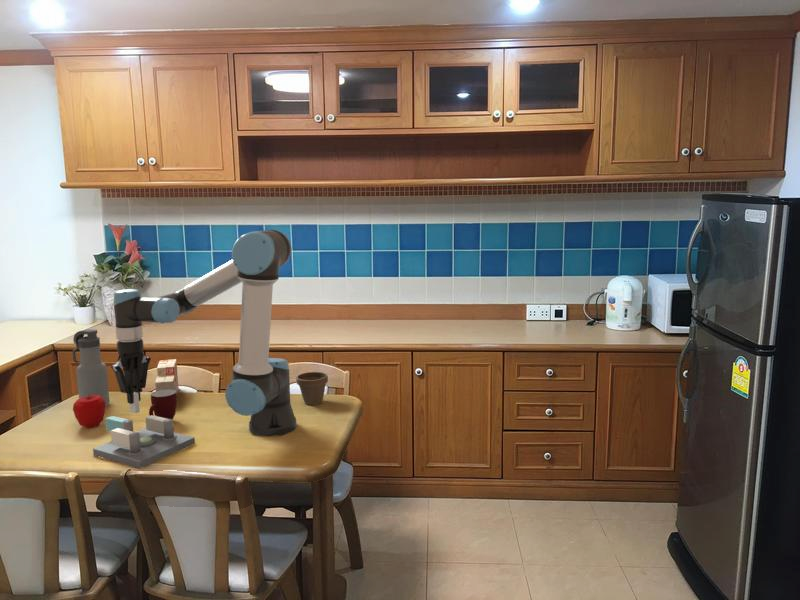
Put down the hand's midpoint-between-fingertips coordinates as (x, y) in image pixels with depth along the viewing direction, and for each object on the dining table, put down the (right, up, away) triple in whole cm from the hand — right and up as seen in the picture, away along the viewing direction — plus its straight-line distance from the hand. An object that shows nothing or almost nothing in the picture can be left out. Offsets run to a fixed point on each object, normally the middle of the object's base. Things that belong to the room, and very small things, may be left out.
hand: (134, 412), depth 196 cm
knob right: (+11, -6, -6) cm, 13 cm away
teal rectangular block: (-2, -6, -6) cm, 9 cm away
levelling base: (+8, -9, -11) cm, 16 cm away
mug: (+5, -6, +11) cm, 13 cm away
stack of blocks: (-4, -2, +38) cm, 38 cm away
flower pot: (+52, -2, +31) cm, 60 cm away
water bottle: (-27, -3, +29) cm, 40 cm away
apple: (-18, -6, +9) cm, 21 cm away
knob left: (+5, -8, -16) cm, 19 cm away
